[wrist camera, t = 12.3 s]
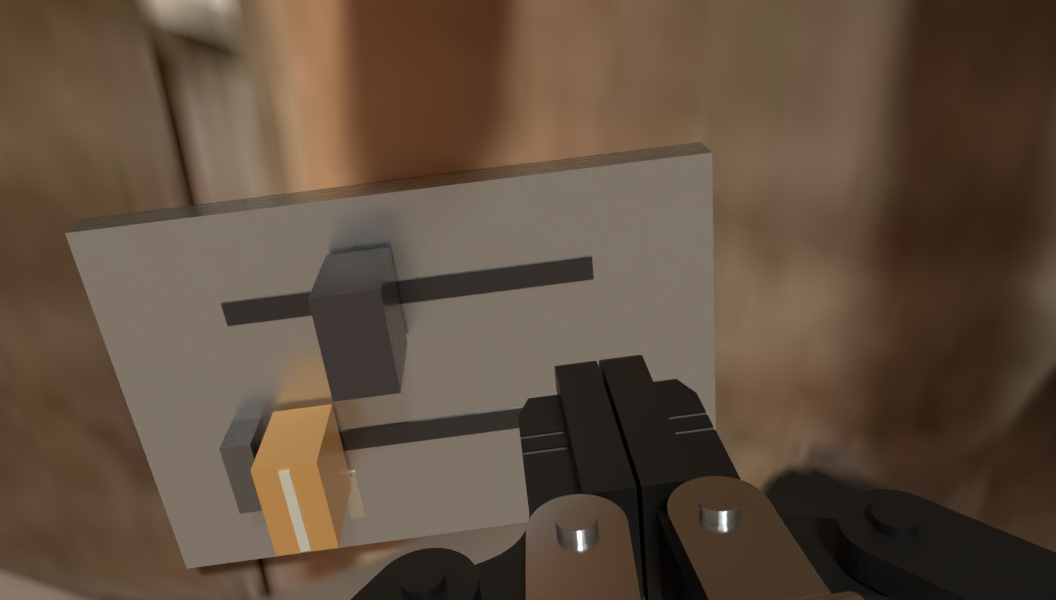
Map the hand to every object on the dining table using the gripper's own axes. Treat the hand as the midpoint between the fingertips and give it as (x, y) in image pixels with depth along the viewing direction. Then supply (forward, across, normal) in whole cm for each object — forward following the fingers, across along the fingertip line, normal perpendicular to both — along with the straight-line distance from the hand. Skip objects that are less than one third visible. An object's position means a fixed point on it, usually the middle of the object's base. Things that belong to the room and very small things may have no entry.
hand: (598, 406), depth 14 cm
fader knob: (+25, +12, +16) cm, 32 cm away
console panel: (+27, +6, +13) cm, 31 cm away
